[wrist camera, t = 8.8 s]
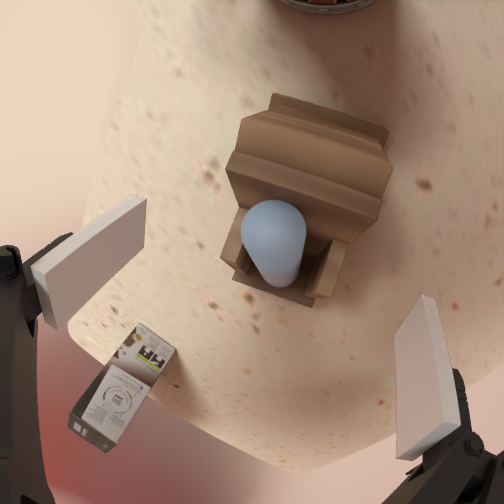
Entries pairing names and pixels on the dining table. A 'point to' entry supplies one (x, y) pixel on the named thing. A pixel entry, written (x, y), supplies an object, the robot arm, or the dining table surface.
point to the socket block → (307, 187)
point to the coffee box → (120, 389)
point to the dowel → (275, 240)
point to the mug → (328, 5)
